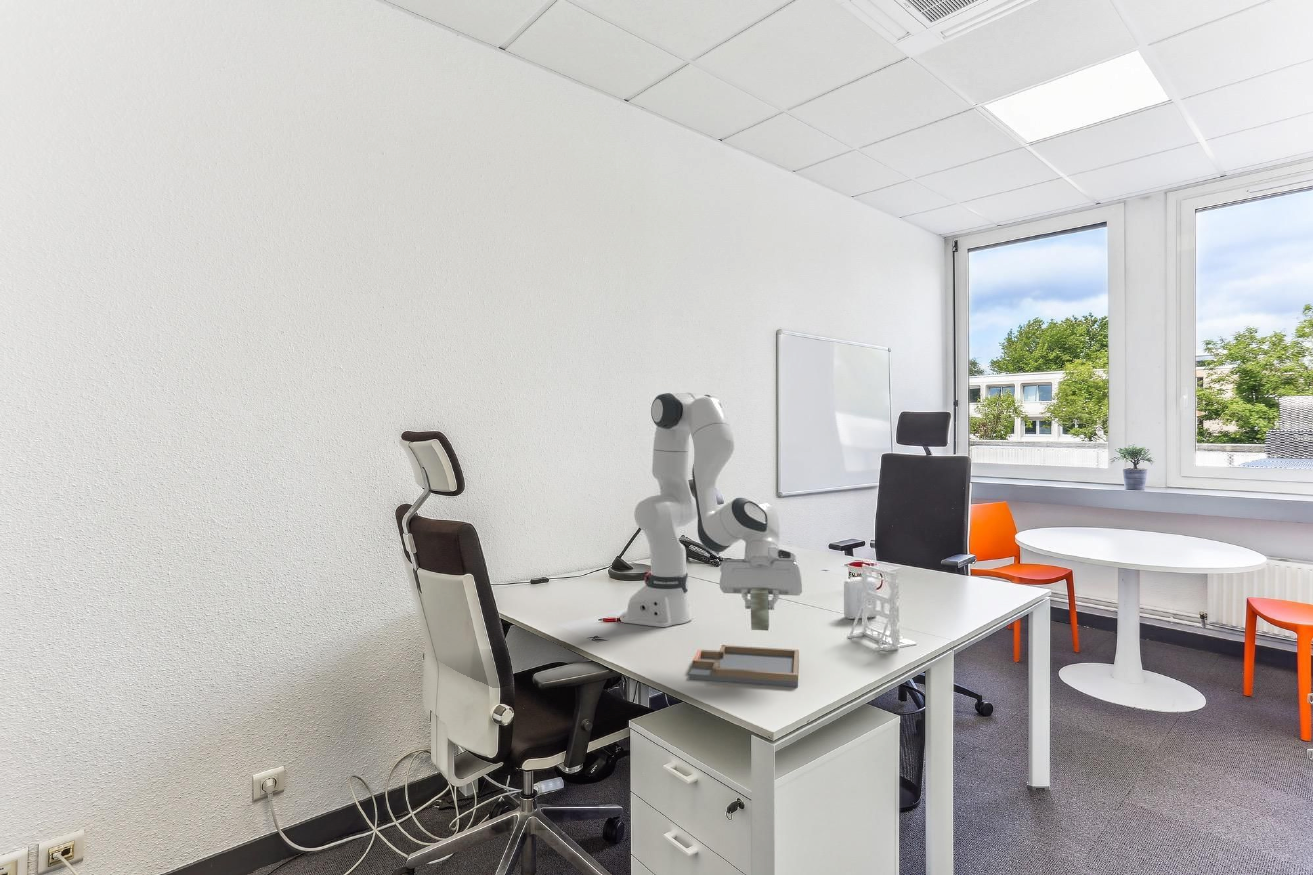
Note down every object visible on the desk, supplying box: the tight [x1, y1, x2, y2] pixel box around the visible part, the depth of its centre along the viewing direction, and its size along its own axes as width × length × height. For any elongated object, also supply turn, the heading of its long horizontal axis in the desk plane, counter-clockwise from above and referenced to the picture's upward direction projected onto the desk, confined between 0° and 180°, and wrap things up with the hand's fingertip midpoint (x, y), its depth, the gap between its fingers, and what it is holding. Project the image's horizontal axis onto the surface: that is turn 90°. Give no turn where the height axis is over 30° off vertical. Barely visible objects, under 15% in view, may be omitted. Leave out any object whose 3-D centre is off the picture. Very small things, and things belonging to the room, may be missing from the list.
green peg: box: [749, 589, 770, 632], centre depth 152 cm, size 4×4×9 cm
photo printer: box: [843, 576, 878, 620], centre depth 194 cm, size 10×4×12 cm, turn 103°
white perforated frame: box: [846, 563, 918, 652], centre depth 172 cm, size 14×14×20 cm
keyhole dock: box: [688, 644, 800, 688], centre depth 153 cm, size 25×17×3 cm
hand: (759, 608), depth 151 cm, fingers closed on green peg, 4 cm apart
